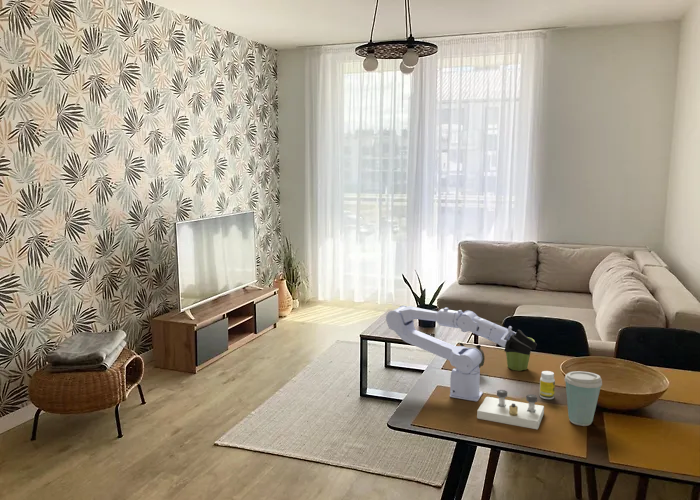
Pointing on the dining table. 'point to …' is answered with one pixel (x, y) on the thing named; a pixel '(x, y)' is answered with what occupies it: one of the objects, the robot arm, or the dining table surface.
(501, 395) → the knob
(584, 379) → the disposable coffee cup
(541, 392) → the supplement bottle
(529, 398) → the knob
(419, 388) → the dining table surface
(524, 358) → the plant pot
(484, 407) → the mount block
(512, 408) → the gold domed cylinder
